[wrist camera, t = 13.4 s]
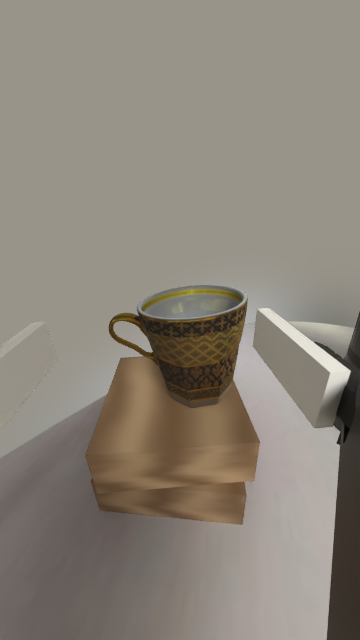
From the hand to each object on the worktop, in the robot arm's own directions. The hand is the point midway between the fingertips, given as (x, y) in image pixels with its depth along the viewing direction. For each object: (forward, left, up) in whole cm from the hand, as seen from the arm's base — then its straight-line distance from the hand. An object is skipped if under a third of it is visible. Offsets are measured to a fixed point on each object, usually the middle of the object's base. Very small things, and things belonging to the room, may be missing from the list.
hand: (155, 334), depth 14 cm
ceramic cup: (-1, -7, -10) cm, 12 cm away
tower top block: (0, -7, -15) cm, 16 cm away
